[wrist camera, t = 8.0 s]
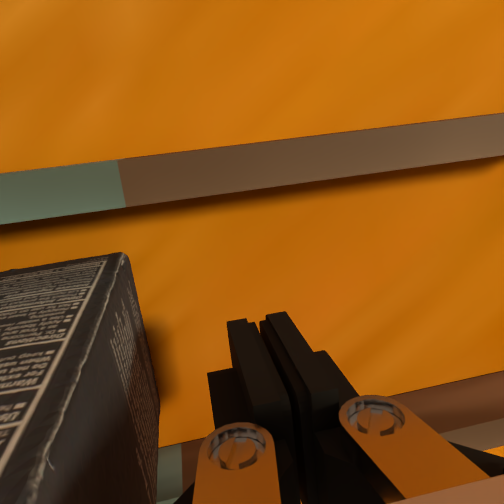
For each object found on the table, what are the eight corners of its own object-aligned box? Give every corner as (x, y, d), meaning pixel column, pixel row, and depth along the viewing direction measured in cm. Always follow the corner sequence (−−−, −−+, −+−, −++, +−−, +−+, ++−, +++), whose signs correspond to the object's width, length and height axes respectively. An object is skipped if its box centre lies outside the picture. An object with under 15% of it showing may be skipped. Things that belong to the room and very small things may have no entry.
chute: (527, 389, 18) (593, 434, 15) (-171, 552, 14) (-257, 654, 11) (547, 107, 15) (633, 98, 12) (-338, 214, 11) (-514, 237, 8)
